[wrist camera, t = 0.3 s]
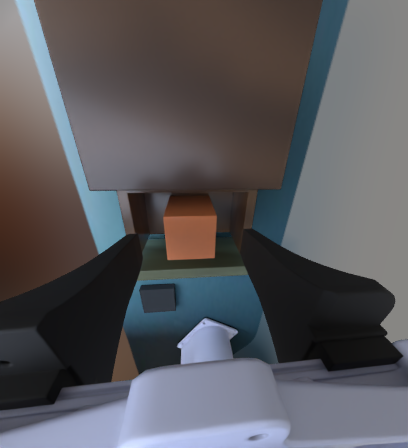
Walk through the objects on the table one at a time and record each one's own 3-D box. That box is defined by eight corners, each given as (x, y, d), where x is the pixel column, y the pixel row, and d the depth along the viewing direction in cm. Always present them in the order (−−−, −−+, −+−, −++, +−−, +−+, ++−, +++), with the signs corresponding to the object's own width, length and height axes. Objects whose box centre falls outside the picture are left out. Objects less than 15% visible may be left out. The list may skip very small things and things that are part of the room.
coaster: (176, 305, 28) (175, 310, 27) (145, 307, 28) (144, 313, 27) (174, 283, 26) (173, 288, 25) (140, 285, 26) (139, 290, 25)
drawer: (236, 251, 23) (250, 283, 18) (143, 255, 22) (130, 290, 17) (246, 170, 18) (269, 182, 13) (128, 170, 17) (103, 183, 12)
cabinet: (248, 172, 19) (281, 189, 13) (125, 172, 18) (89, 191, 11) (264, 46, 15) (331, -36, 8) (100, 34, 13) (11, -73, 7)
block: (208, 229, 20) (214, 258, 15) (172, 230, 20) (167, 260, 15) (209, 195, 18) (217, 215, 13) (169, 195, 18) (163, 216, 13)
